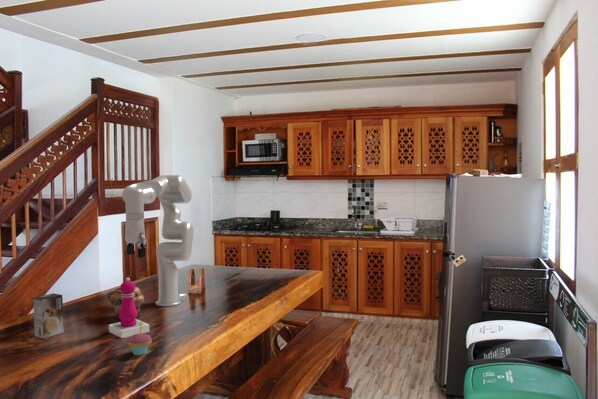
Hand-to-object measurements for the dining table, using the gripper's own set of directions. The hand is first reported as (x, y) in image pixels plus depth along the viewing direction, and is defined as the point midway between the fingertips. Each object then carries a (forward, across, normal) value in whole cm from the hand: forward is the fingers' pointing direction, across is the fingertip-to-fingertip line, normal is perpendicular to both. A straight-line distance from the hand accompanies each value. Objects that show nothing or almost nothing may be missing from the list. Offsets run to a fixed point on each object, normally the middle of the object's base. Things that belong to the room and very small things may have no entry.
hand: (136, 255), depth 219 cm
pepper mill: (+27, +9, -9) cm, 30 cm away
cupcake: (+30, +35, -17) cm, 49 cm away
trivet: (+30, +8, -8) cm, 32 cm away
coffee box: (+30, -12, -33) cm, 46 cm away
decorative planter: (+31, -14, +1) cm, 34 cm away
